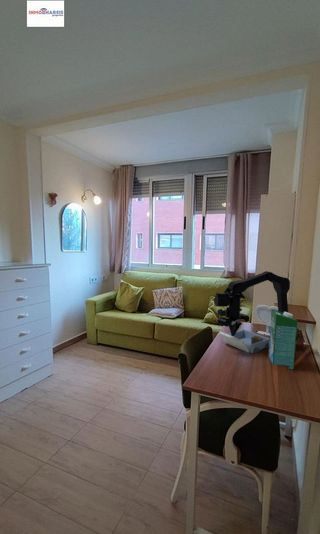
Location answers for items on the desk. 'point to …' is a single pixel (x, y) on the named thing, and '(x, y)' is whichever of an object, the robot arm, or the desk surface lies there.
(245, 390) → the desk surface
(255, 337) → the brown cube
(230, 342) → the tall thin white panel
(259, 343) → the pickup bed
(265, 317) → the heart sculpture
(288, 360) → the milk carton
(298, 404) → the desk surface
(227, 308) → the robot arm
